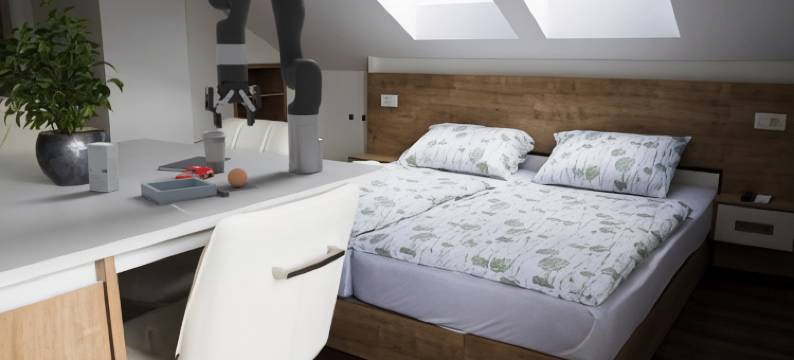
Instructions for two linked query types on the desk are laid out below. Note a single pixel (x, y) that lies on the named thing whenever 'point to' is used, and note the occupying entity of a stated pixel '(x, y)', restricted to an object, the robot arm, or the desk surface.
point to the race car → (197, 173)
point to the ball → (237, 177)
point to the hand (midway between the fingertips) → (234, 127)
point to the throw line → (222, 192)
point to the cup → (215, 150)
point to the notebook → (188, 164)
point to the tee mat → (232, 188)
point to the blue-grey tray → (177, 190)
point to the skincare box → (103, 167)
